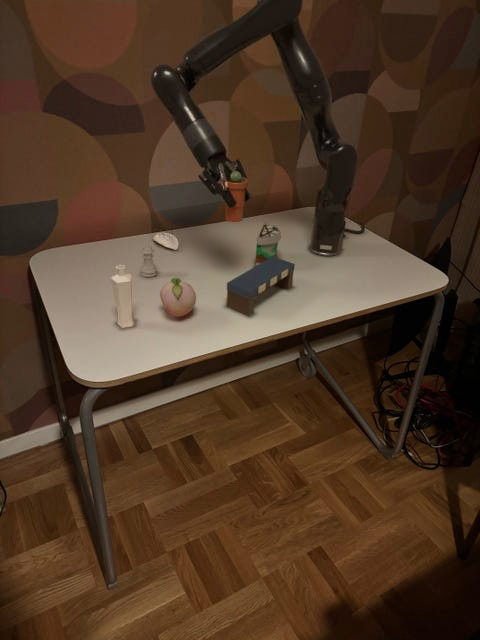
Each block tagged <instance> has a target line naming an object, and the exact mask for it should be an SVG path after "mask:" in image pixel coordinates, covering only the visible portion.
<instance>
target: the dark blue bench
mask: <svg viewBox="0 0 480 640" xmlns="http://www.w3.org/2000/svg"><path fill="white" fill-rule="evenodd" d="M295 265H296V264H295V263H293V262H290V261H287V260H285V259H282V258H280V257H277V256H276V257H274V256H272V257H271V258H269V259H267V260H266V261H264V262H262V263H260V264H259V265H257V266H256V265H255V266H254V267H252V268H250V269H248V270H247V271H245V272H243V273H241V274H240V275H238V276H236V277H234V278H233V279H231V280H229V281H228V282H226V291H227V293H226V307H227V308H229V309H231V310H233V311H236V312H238V313H239V314H242V315H245V316H247V317H251V316H252V315H253V314H254V311H255V299H256V297H258V296H260V295H261V294H262V293H263V294H264V292H266V291H268V290H269V289H271V288H273V287H274V286H277V287H280V288H281V289H285V290H287V291H289V290H290V289H291V288H293V280H294V271H295Z"/></svg>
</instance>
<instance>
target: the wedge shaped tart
mask: <svg viewBox="0 0 480 640" xmlns="http://www.w3.org/2000/svg"><path fill="white" fill-rule="evenodd" d="M281 239H282V233H281V230H280V227H279V226H277V224H276V225H275V224H274V223H271V222H266V221H263V224H262V227H261V230H260V232H259V235H258V236H257V237H256V242H255V243H256V244H255V245H256V250H255V266H257V265H259V264H260V263H262V262H264V261H266V260H267V259H269V258H271V257H272V256H274V257H277V253H278V245H279V242H280V240H281Z"/></svg>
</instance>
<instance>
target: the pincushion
mask: <svg viewBox="0 0 480 640" xmlns="http://www.w3.org/2000/svg"><path fill="white" fill-rule="evenodd" d="M172 228H173V225H171V228H170V230H171V233H170V232H160V228H159V227H158V232H157V233H156V234H155V235H154V236H153V238H152V239H153V240H154V241H155V242H157V243H158V244H159V245H162V246H163V247H165V248H168V249H171V250H174V251H177V250H178V248H179V246H180V243H179V240H178V239H177V237H176V236H175V235H174V232H173V229H172Z"/></svg>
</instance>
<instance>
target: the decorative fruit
mask: <svg viewBox="0 0 480 640" xmlns="http://www.w3.org/2000/svg"><path fill="white" fill-rule="evenodd" d="M159 297H160V301H161V303H162V306H163V308H164V310H165V311H166V312H167V313H168V314H170V315H171V316H174V317H183V316H186V315H187V314H189V313H190V312H191V311H192V309H193V308H194V307H195V305H196V303H197V302H196V301H197V294H196V291H195V290H194V287H193V286H192V285H191V284H190V283H188V282H187V281H183V280H181V279H180V278H179V277H173V278H171V279H170V281H167V282H166V283H165V284H164V285H162V287H161V288H160V291H159Z"/></svg>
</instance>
